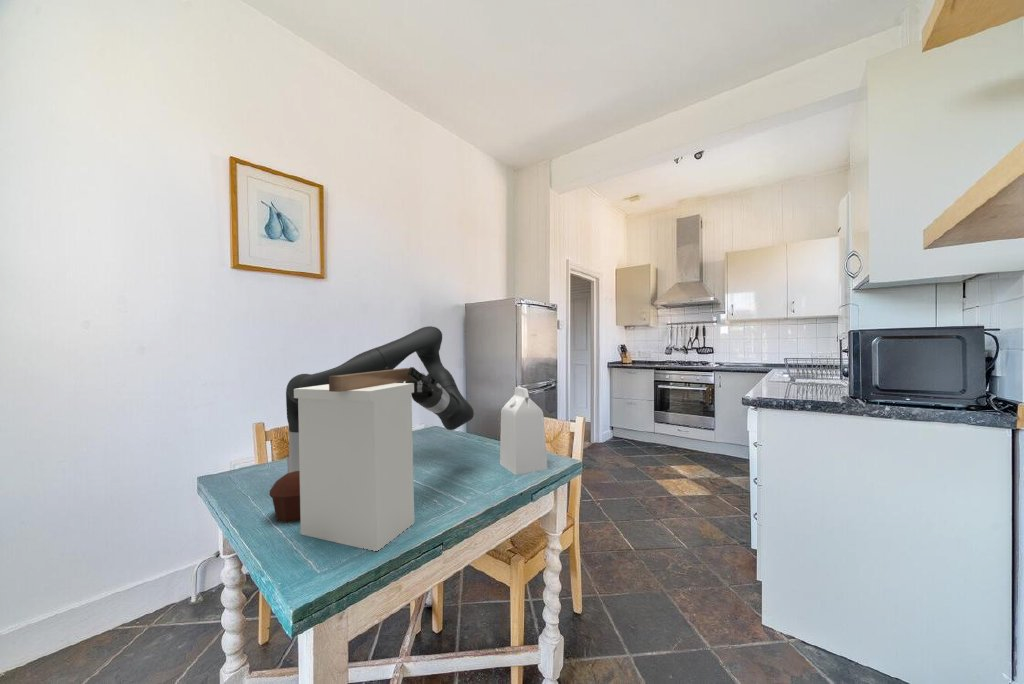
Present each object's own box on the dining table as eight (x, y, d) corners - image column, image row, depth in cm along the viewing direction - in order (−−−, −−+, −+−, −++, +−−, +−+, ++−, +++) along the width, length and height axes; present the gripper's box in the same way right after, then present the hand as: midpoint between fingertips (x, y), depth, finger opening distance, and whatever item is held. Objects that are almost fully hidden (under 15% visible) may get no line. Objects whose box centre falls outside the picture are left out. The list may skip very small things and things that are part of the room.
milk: (547, 468, 117) (545, 388, 117) (515, 475, 112) (513, 391, 112) (529, 458, 128) (527, 385, 128) (499, 464, 123) (498, 387, 123)
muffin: (261, 517, 88) (260, 475, 88) (307, 500, 97) (307, 462, 97) (284, 530, 81) (283, 485, 81) (332, 510, 90) (331, 470, 91)
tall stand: (296, 536, 78) (293, 388, 78) (347, 508, 91) (344, 382, 91) (373, 554, 71) (370, 391, 71) (417, 521, 84) (413, 383, 84)
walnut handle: (329, 391, 72) (328, 376, 72) (405, 379, 94) (405, 368, 94) (340, 391, 71) (340, 376, 71) (415, 379, 93) (414, 368, 93)
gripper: (414, 383, 107) (379, 357, 94) (456, 384, 102) (426, 356, 88) (406, 407, 103) (369, 384, 90) (450, 409, 98) (417, 385, 85)
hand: (397, 370), depth 89 cm, fingers open, 7 cm apart
